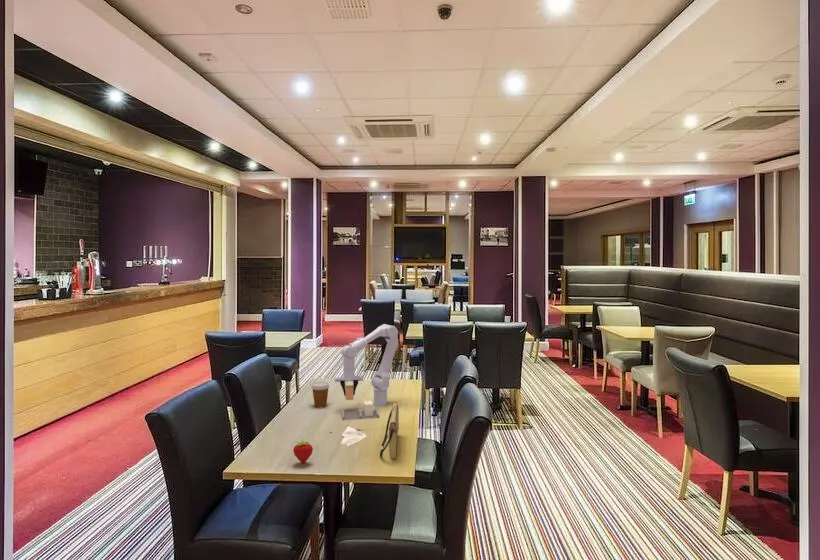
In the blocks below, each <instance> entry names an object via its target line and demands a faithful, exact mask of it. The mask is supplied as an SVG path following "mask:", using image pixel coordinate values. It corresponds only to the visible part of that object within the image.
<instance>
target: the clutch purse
mask: <svg viewBox="0 0 820 560" xmlns="http://www.w3.org/2000/svg"><path fill="white" fill-rule="evenodd" d="M399 426H400V425H399V405H398V402H396V401H395V402H393V403H392V408H391V410H390V412H389V415H388V418H387V422H386V427H385V433H384V437H383V441H382V442H381V446H383V449H382V450H381V449H380V450H379V451H380V452H379V455H380V456H381V455H383V454H384V451H385V450H386V449H387V448H388V447H389V450H388V451H389V457H390V458H391V459H392V460H394V459H396V456H397V452H398V451H397V447H398V435H399V430H400V429H399ZM387 436H388V438H389V439H388V440H387V442H386V439H387ZM385 443H386V445H385ZM384 445H385V446H384Z"/></svg>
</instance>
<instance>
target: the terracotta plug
mask: <svg viewBox="0 0 820 560" xmlns="http://www.w3.org/2000/svg"><path fill="white" fill-rule="evenodd" d="M345 395H346V396H344V397H345V401H351V400H352V401H353V400H354V395H353V384H349V385H346V384H345Z"/></svg>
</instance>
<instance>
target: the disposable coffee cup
mask: <svg viewBox="0 0 820 560" xmlns="http://www.w3.org/2000/svg"><path fill="white" fill-rule="evenodd" d="M329 387H330V384H329V383H328V382H325V381H323V382H322V381H321V382H313V383H312V385H311V390H312V396H313V403H314V407H315V408H317V407H319V408H320V407H322V408H326V407H327V405H328V395H329ZM325 406H326V407H325ZM320 409H321V408H320Z"/></svg>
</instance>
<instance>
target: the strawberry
mask: <svg viewBox="0 0 820 560" xmlns="http://www.w3.org/2000/svg"><path fill="white" fill-rule="evenodd" d="M313 451H314V448H313V446H312V444H310V443H309V441H308V440H307V441H304V440H303V438H301V441H298V442H296V445H295V446H294V447H293V454H294V456H295V457H296V459H297V460H298V461H299V462H300V463H301V464H306V463H307V461H308V460H309V459H310V457H311V456H312V454H313Z"/></svg>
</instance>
